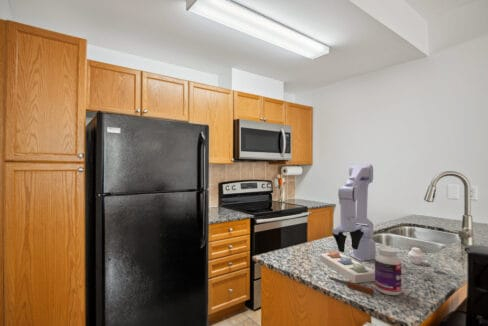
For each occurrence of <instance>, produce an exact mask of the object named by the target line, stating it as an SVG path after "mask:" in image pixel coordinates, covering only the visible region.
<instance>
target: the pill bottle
mask: <svg viewBox="0 0 488 326" xmlns="http://www.w3.org/2000/svg"><path fill="white" fill-rule="evenodd" d="M397 254H398V252H397V249H396V248H393V247H390V246H379V247H378V253H377V254H376V256H375V259H374V271H375V280H374V286H375V289H376V290H377V291H378V292H380V293H382V294H384V295H388V296H399V295H400V294H401V293H402V291H403V290H402V289H403V287H402V260H401V258H400V257H399V256H398V255H397Z"/></svg>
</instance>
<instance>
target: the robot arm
mask: <svg viewBox="0 0 488 326" xmlns="http://www.w3.org/2000/svg"><path fill="white" fill-rule="evenodd" d="M373 166H374V165H372V164H350V165H349V167H348V173H349V175H348V176H349V177H347V179H346V180H345V182H344V184H343V185H342V186H340V187H339V188H338V190H337V191H338V193H337V196H338V199H339V200H338V201H339V206H340V211H339V212H340V224H339V225H338V226H337V227H334V228H332V236H333V239H334V240H335V242H336V246H337V250H338V252H339V253H344V252H345V246H346V245H345V244H346V240H347V237H348V236H347V235H345V233H348V234H349V236H350V239H351V248H352V253H350V254H348V256H350V257H351V258H353V259H355V260H357V261H361V262H362V261H363V262H364V261H371V260H375V256H376V255H377V254H376V252H377V251H376V250H377V249H376V246H377V245H376V241H375V240H374V234H375V233H374V229H375V228H374V223H373V222H372V221H371V220H370V219H368V198H369V197H368V195H369V193H368V192H369V191H368V190H369V184H371V183H373V180H374V167H373Z"/></svg>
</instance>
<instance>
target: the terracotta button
mask: <svg viewBox="0 0 488 326" xmlns="http://www.w3.org/2000/svg"><path fill="white" fill-rule="evenodd" d="M328 253H329V257H331V258H333V259H334V258H340V253H341V252H340V251H338V252H337V251H329V252H328Z"/></svg>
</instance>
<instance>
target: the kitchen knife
mask: <svg viewBox="0 0 488 326" xmlns="http://www.w3.org/2000/svg"><path fill="white" fill-rule="evenodd" d="M329 280H330V281H333V282H337V283H339V284H342V285H343V286H346V287H347V288H351V289H354V290H357V291H358V292H362V293H364V294H367V295H371V296H373V295H374V294H375V290H374V289H373V288H371V287H368V286H365V285H363V284H359V283H354V282H353V281H350V280H349V281H346V280H342V279H339V278H335V277H329Z"/></svg>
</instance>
